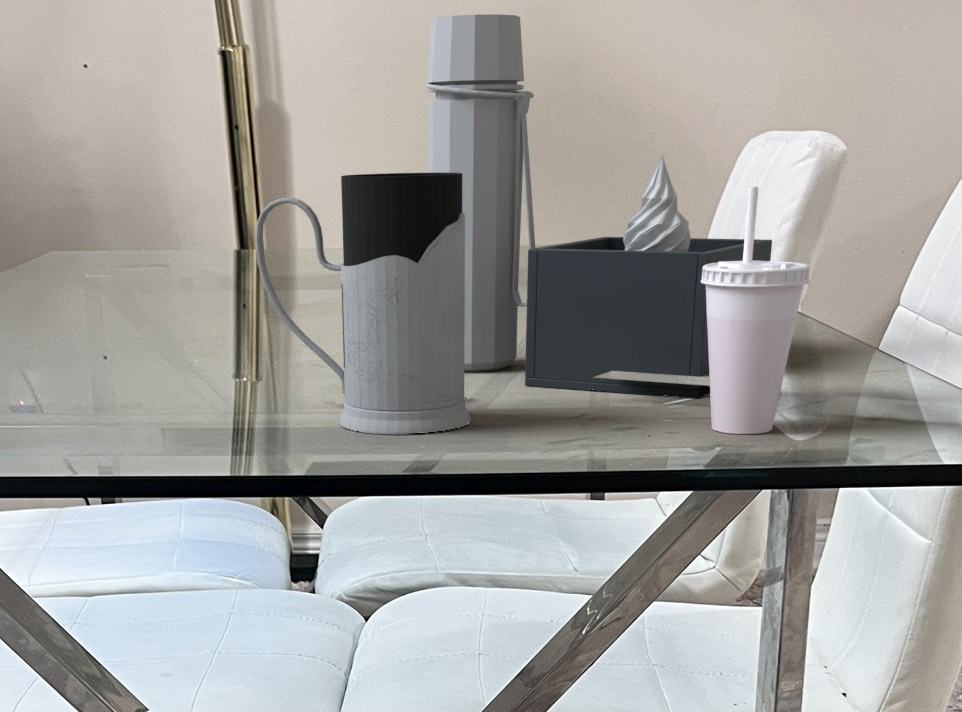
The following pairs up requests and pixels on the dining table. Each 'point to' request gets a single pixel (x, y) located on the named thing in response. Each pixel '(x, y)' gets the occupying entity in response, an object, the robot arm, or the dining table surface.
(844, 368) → the dining table surface
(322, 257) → the glass holder
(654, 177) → the ice cream cone
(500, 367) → the water bottle
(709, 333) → the smoothie
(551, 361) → the open storage box
